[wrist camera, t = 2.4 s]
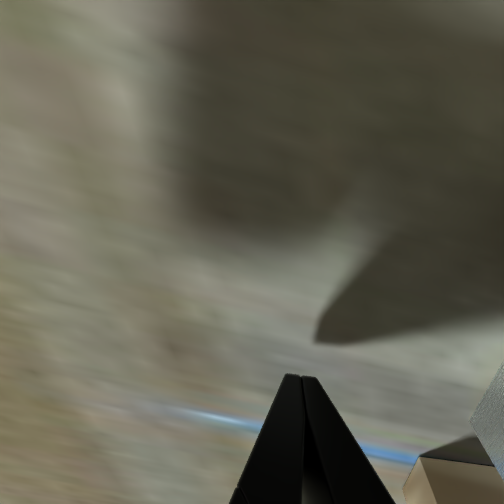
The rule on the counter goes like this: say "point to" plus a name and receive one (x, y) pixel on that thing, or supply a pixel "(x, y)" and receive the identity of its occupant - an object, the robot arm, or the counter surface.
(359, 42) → the counter surface
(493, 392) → the block
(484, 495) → the slot rails
